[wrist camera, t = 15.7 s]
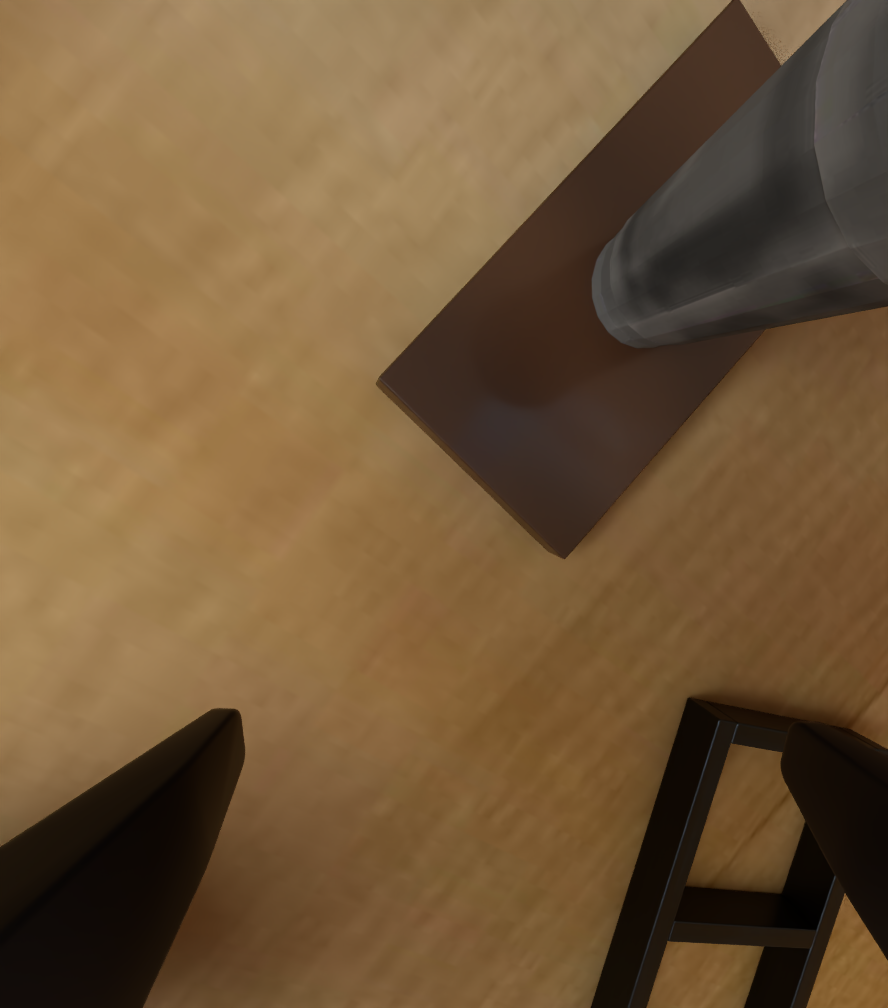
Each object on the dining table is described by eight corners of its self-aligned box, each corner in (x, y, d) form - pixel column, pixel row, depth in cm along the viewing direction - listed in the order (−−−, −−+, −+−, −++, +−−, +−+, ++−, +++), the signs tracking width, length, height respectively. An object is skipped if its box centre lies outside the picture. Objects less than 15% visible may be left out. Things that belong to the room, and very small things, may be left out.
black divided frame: (567, 1077, 24) (588, 1133, 22) (687, 696, 23) (719, 719, 21) (736, 1072, 26) (768, 1122, 24) (850, 728, 25) (893, 752, 23)
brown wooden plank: (549, 552, 20) (565, 560, 19) (374, 384, 18) (377, 378, 17) (836, 224, 22) (872, 208, 20) (707, 28, 19) (737, -6, 18)
